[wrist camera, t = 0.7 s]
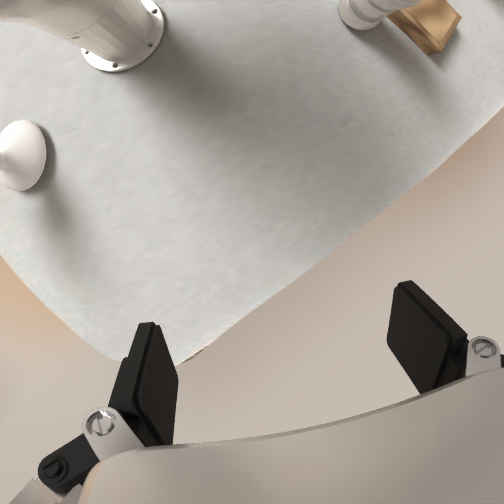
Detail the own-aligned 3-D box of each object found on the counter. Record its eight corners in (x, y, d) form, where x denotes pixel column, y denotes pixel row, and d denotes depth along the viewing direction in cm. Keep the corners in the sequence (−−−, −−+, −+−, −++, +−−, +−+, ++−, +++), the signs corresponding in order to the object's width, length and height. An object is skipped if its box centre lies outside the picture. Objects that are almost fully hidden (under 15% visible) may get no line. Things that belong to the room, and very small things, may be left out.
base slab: (379, 9, 33) (391, 2, 30) (404, -22, 30) (416, -29, 27) (427, 55, 37) (441, 51, 33) (448, 21, 34) (462, 17, 30)
